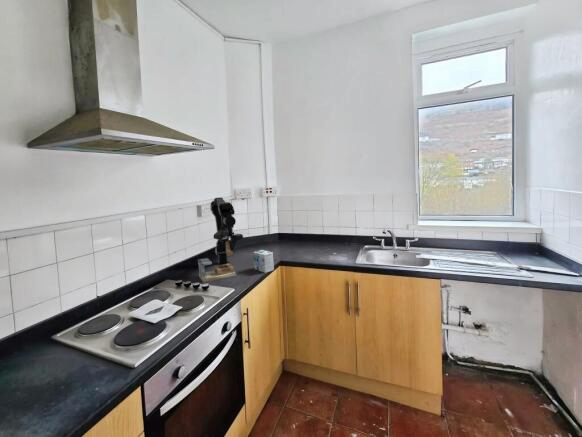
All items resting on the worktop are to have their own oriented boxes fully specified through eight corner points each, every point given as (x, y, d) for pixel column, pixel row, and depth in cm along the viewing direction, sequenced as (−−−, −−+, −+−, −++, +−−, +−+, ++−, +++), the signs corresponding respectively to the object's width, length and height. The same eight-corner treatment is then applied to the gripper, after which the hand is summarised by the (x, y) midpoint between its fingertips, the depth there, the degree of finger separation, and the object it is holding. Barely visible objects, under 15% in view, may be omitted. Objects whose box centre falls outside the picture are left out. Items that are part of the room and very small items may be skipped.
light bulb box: (254, 269, 167) (252, 252, 165) (263, 266, 171) (261, 249, 170) (265, 273, 159) (264, 254, 158) (274, 269, 164) (273, 252, 162)
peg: (229, 254, 166) (228, 240, 165) (234, 254, 164) (233, 241, 163) (225, 255, 163) (224, 242, 162) (229, 256, 161) (228, 242, 160)
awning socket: (199, 276, 160) (197, 259, 159) (229, 269, 168) (228, 253, 167) (203, 282, 150) (201, 264, 148) (235, 275, 158) (234, 258, 157)
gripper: (204, 226, 159) (207, 252, 161) (228, 227, 149) (230, 255, 151) (219, 223, 169) (222, 248, 171) (242, 224, 158) (244, 250, 160)
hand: (229, 250), depth 163 cm, fingers closed on peg, 4 cm apart
